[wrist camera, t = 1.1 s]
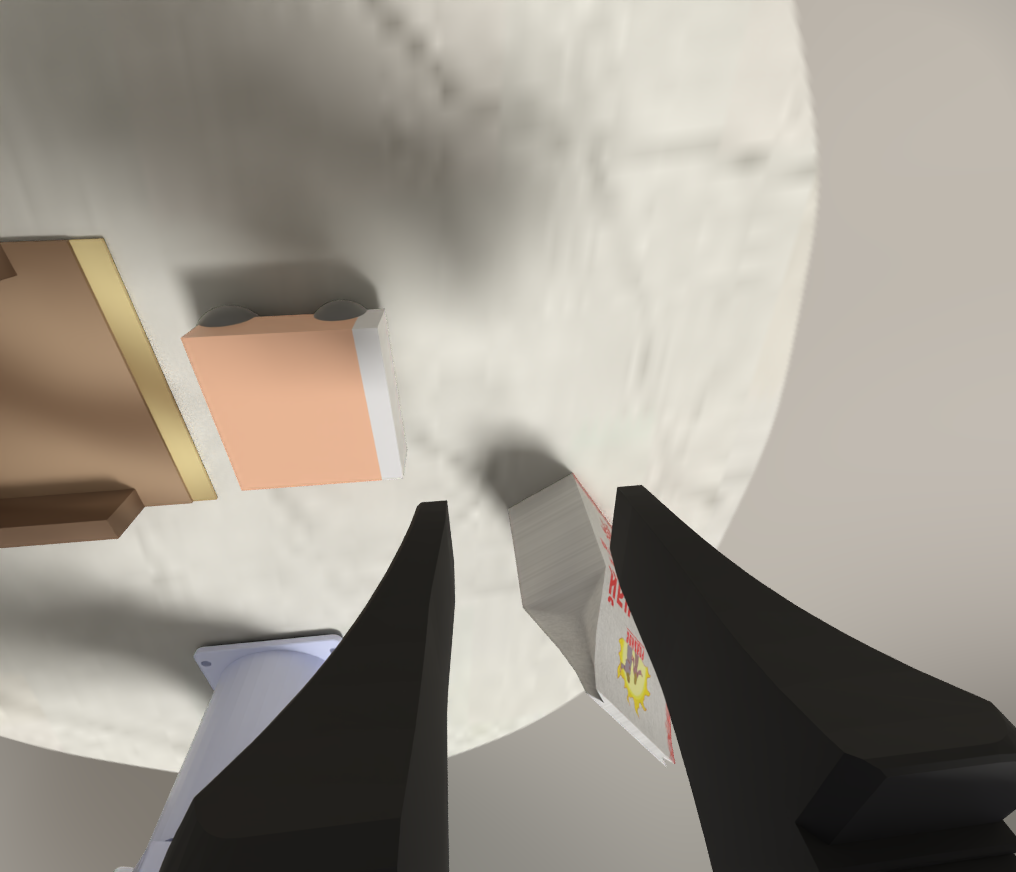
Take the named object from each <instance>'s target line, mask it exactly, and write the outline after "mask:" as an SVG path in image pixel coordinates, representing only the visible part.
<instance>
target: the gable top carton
mask: <svg viewBox="0 0 1016 872" xmlns="http://www.w3.org/2000/svg"><path fill="white" fill-rule="evenodd" d="M508 511H509V518H510V525H511V531H512V538H513V545H514V551H515V558H516V565H517V571H518V578H519V585H520V591H521V598H522V605H523V608H524V610H525V611H526V612H527V613H528V614H529V615H530V616H531V617H532V619H533V620H534V621H535V622H536V623H537V624H538V625H539V627H540V628H541V629H542V630H543V631H544V632H545V633H546V635H547V636H548V637H549V638H550V639H551V640H552V641H553V643H554V644H555V645H556V646H557V647H558V648H559V649H560V651H561V652H562V654H563V655H564V656H565V658H566V659H567V660H568V662H569V663H570V665H571V666H572V667H573V669H574V670H575V672H576V673H577V675H578V677H579V679H580V681H581V683H582V685H583V687H584V689H585V691H586V693H587V694H588V695H589V696H590V697H591V698H592V699H593V700H595V701H596V702H597V703H598V704H599V705H600V706H601V707H602V708H603V709H604V710H605V711H606V712H607V713H609V714H610V715H611V716H612V717H613V718H614V719H615V720H616V721H617V722H618V723H619V724H620V725H622V726H623V727H624V728H625V729H626V730H627V731H628V732H629V733H630V734H631V735H632V736H633V737H634V738H636V739H637V740H638V741H639V742H640V743H641V744H642V745H643V746H644V747H645V748H646V749H647V750H649V752H651V753H652V754H653V755H654V756H655V757H656V758H657V759H658V760H659V761H660V762H661V763H662V764H664V765H665V766H666V764H665V762H664V759H666V760H668V761H670V762H672V763H674V764H675V760H674V755H673V749H672V743H671V726H670V714H669V711H668V708H667V704H666V701H665V698H664V695H663V692H662V689H661V686H660V683H659V681H658V678H657V675H656V673H655V670H654V668H653V665H652V663H651V660H650V658H649V656H648V653H647V651H646V648H645V646H644V644H643V641H642V639H641V636H640V634H639V632H638V629H637V627H636V624H635V622H634V620H633V617H632V615H631V612H630V610H629V607H628V605H627V603H626V600H625V598H624V595H623V593H622V590H621V588H620V585H619V581H618V578H617V574H616V571H615V567H614V563H613V560H612V556H611V552H610V540H611V532H612V527H611V525H610V524H609V522H608V521H607V520H606V518H605V517H604V516H603V514H602V513H601V511H600V510H599V509H598V507H597V506H596V505H595V503H594V502H593V500H592V499H591V498H590V496H589V495H588V493H587V492H586V491H585V489H584V488H583V487H582V485H581V484H580V482H579V481H578V480H577V478H576V477H575V476H574V474H573V473H571V474H570V475H568V476H566V477H564V478H562V479H561V480H559V481H557V482H555V483H554V484H552V485H550V486H548V487H546V488H545V489H543V490H541V491H539V492H537V493H536V494H534V495H532V496H530V497H528V498H527V499H525V500H523V501H521V502H519V503H518V504H516V505H514V506H512V507H511V508H509V509H508ZM663 758H664V759H663Z"/></svg>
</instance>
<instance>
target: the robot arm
mask: <svg viewBox="0 0 1016 872" xmlns="http://www.w3.org/2000/svg"><path fill="white" fill-rule="evenodd" d="M610 552H611V556H612V560H613V563H614V567H615V571H616V574H617V578H618V581H619V585H620V588H621V590H622V593H623V595H624V598H625V600H626V603H627V605H628V607H629V610H630V612H631V615H632V617H633V620H634V622H635V624H636V627H637V629H638V632H639V634H640V636H641V639H642V641H643V644H644V646H645V648H646V651H647V653H648V656H649V658H650V660H651V663H652V665H653V668H654V670H655V673H656V675H657V678H658V681H659V683H660V686H661V689H662V692H663V695H664V698H665V701H666V704H667V708H668V711H669V714H670V717H671V721H672V724H673V727H674V730H675V733H676V737H677V740H678V744H679V747H680V751H681V754H682V758H683V761H684V765H685V768H686V771H687V775H688V778H689V782H690V786H691V789H692V793H693V796H694V800H695V804H696V808H697V812H698V815H699V819H700V823H701V827H702V830H703V834H704V837H705V842H706V846H707V850H708V854H709V858H710V862H711V866H712V869H713V872H1016V856H1015V854H1014V853H1016V836H1015V834H1014V833H1013V832H1012V831H1011V830H1010V828H1009V827H1008V826H1007V825H1006V823H1005V822H1004V821H1003V819H1004V818H1005V817H1007V816H1008V815H1009V814H1010V813H1012V812H1013V811H1014V810H1015V809H1016V728H1015V726H1014V725H1013V724H1012V723H1011V722H1010V721H1009V720H1008V719H1007V718H1006V717H1005V716H1004V715H1003V714H1002V713H1001V712H1000V711H999V710H998V709H997V708H996V707H995V706H994V705H993V704H992V703H991V702H990V701H987V700H985V699H983V698H981V697H978V696H976V695H974V694H971V693H969V692H967V691H964V690H962V689H960V688H957V687H955V686H953V685H951V684H949V683H946V682H944V681H942V680H939V679H937V678H935V677H933V676H930V675H928V674H926V673H923V672H921V671H919V670H917V669H914V668H912V667H910V666H908V665H906V664H904V663H902V662H900V661H898V660H895V659H894V658H892V657H890V656H888V655H886V654H884V653H882V652H880V651H877V650H876V649H874V648H871V647H870V646H868V645H866V644H864V643H862V642H860V641H858V640H856V639H854V638H852V637H851V636H848V635H847V634H845V633H843V632H841V631H839V630H838V629H836V628H834V627H832V626H830V625H829V624H827V623H825V622H823V621H822V620H820V619H818V618H817V617H815V616H813V615H811V614H810V613H808V612H806V611H805V610H803V609H801V608H800V607H798V606H796V605H794V604H793V603H792V602H790V601H788V600H787V599H785V598H784V597H782V596H781V595H779V594H778V593H776V592H775V591H773V590H771V589H770V588H768V587H767V586H765V585H764V584H762V583H761V582H759V581H758V580H757V579H755V578H754V577H752V576H751V575H749V574H748V573H747V572H745V571H744V570H743V569H741V568H740V567H739V566H737V565H736V564H735V563H733V562H732V561H731V560H729V559H728V558H727V557H725V556H724V555H723V554H721V553H720V552H719V551H718V550H716V549H715V548H714V547H713V546H711V545H710V544H709V543H708V542H706V541H705V540H704V539H703V538H702V537H700V536H699V535H698V534H697V533H696V532H694V531H693V530H692V529H691V528H690V527H689V526H687V525H686V524H685V523H684V522H683V521H682V520H680V519H679V518H678V517H677V516H676V515H675V514H674V513H673V512H671V511H670V510H669V509H668V508H667V507H666V506H665V505H664V504H662V503H661V502H660V501H659V500H658V499H657V498H656V497H655V496H654V495H652V494H651V493H650V492H649V491H648V490H647V489H646V488H645V487H643V486H642V485H637V486H624V487H617V493H616V501H615V509H614V517H613V525H612V532H611V540H610ZM454 609H455V579H454V557H453V549H452V540H451V531H450V522H449V513H448V505H447V500H446V501H434V502H421V503H420V504H419V505H418V506H417V508H416V511H415V514H414V516H413V519H412V522H411V524H410V526H409V529H408V531H407V533H406V535H405V537H404V539H403V541H402V543H401V546H400V547H399V549H398V551H397V553H396V555H395V557H394V559H393V561H392V563H391V564H390V566H389V568H388V570H387V572H386V574H385V575H384V577H383V579H382V580H381V582H380V584H379V585H378V587H377V588H376V590H375V592H374V593H373V595H372V597H371V598H370V600H369V601H368V603H367V605H366V606H365V608H364V609H363V611H362V612H361V614H360V615H359V617H358V618H357V619H356V621H355V622H354V624H353V625H352V627H351V628H350V629H349V631H348V632H347V633H346V635H345V636H344V637H343V639H342V637H340V636H339V635H336V634H331V635H321V636H310V637H300V638H290V639H280V640H269V641H259V642H249V643H238V644H228V645H218V646H207V647H201V648H198V649H197V650H196V652H195V654H194V656H193V657H194V659H195V661H196V663H197V664H198V666H199V667H200V669H201V671H202V672H203V674H204V676H205V677H206V679H207V681H208V682H209V684H210V685H211V687H212V689H213V690H214V693H213V695H212V697H211V700H210V702H209V704H208V707H207V709H206V711H205V713H204V716H203V718H202V720H201V723H200V725H199V727H198V730H197V732H196V734H195V737H194V739H193V741H192V744H191V746H190V748H189V751H188V753H187V755H186V758H185V760H184V762H183V765H182V767H181V769H180V772H179V774H178V776H177V779H176V781H175V783H174V786H173V788H172V790H171V792H170V795H169V797H168V799H167V802H166V804H165V806H164V809H163V811H162V813H161V816H160V818H159V820H158V823H157V825H156V827H155V830H154V832H153V834H152V837H151V839H150V841H149V844H148V846H147V848H146V851H145V852H144V854H143V856H142V857H141V859H140V860H139V862H138V863H137V865H136V867H135V868H134V870H133V868H132V867H118V868H117V869H115V870H114V871H113V872H449V839H448V777H447V776H448V774H447V773H448V772H447V702H448V685H449V673H450V660H451V648H452V635H453V622H454ZM132 870H133V871H132Z"/></svg>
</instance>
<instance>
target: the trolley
mask: <svg viewBox="0 0 1016 872" xmlns="http://www.w3.org/2000/svg"><path fill="white" fill-rule="evenodd" d="M181 340H182V343H183V345H184V348H185V350H186V353H187V355H188V358H189V360H190V363H191V365H192V368H193V370H194V373H195V375H196V378H197V380H198V383H199V385H200V388H201V390H202V393H203V395H204V397H205V400H206V402H207V405H208V407H209V410H210V412H211V415H212V417H213V420H214V422H215V425H216V427H217V430H218V432H219V435H220V437H221V440H222V442H223V445H224V447H225V450H226V452H227V455H228V457H229V460H230V462H231V465H232V467H233V470H234V472H235V475H236V477H237V480H238V482H239V485H240V487H241V490H242V491H243V490H257V489H270V488H283V487H297V486H310V485H323V484H337V483H350V482H363V481H377V480H390V479H403V476H404V470H405V463H406V456H407V445H406V438H405V432H404V426H403V419H402V413H401V407H400V401H399V394H398V388H397V382H396V375H395V369H394V363H393V357H392V350H391V344H390V338H389V331H388V325H387V319H386V312H385V309H370V310H367V309H366V308H365V307H363V306H362V305H360V304H358V303H356V302H353V301H349V300H335V301H331V302H329V303H326V304H324V305H323V306H322V307H320V308H319V309H318V310H317V311H316V312H315V314H304V315H284V316H264V317H260V316H258V315H257V314H256V313H254V312H253V311H251V310H249V309H247V308H244V307H240V306H234V305H225V306H219V307H216V308H213V309H211V310H209V311H208V312H206V313H205V314H204V315H203V316H202V317H201V318H200V319H199V321H198V323H197V325H196V327H195V328H194V329H192V330H191V331H190V332H188V333H187V334H185V335H184V336H183V337H181Z"/></svg>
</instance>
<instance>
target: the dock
mask: <svg viewBox="0 0 1016 872" xmlns="http://www.w3.org/2000/svg"><path fill="white" fill-rule="evenodd" d="M216 499H217V495H216V493H215V491H214V488H213V486H212V484H211V482H210V479H209V477H208V475H207V473H206V470H205V468H204V466H203V463H202V461H201V459H200V457H199V454H198V452H197V450H196V448H195V445H194V443H193V441H192V438H191V436H190V434H189V432H188V429H187V427H186V425H185V423H184V420H183V418H182V416H181V414H180V411H179V409H178V407H177V404H176V402H175V400H174V398H173V395H172V393H171V391H170V389H169V386H168V384H167V382H166V379H165V377H164V375H163V373H162V370H161V368H160V366H159V364H158V361H157V359H156V357H155V354H154V352H153V350H152V348H151V345H150V343H149V341H148V339H147V336H146V334H145V332H144V329H143V327H142V325H141V323H140V320H139V318H138V316H137V314H136V311H135V309H134V307H133V304H132V302H131V300H130V298H129V295H128V293H127V291H126V289H125V286H124V284H123V282H122V279H121V277H120V275H119V273H118V270H117V268H116V266H115V264H114V261H113V259H112V257H111V254H110V252H109V250H108V248H107V245H106V243H105V241H104V239H103V238H98V239H72V240H45V241H18V242H0V548H8V547H20V546H32V545H45V544H57V543H70V542H82V541H95V540H107V539H118V538H119V537H120V536H121V535H122V534H123V532H124V531H125V530H126V529H127V528H128V526H129V525H130V524H131V523H132V522H133V520H134V519H135V518H136V517H137V516H138V514H139V513H140V512H141V511H142V510H143V508H144V507H147V506H160V505H173V504H186V503H192V502H193V501H203V500H216Z"/></svg>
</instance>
